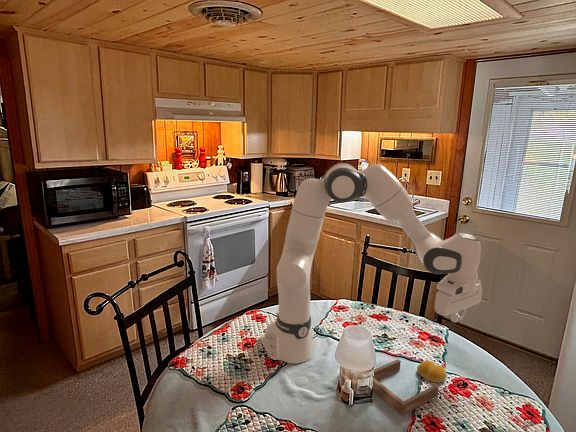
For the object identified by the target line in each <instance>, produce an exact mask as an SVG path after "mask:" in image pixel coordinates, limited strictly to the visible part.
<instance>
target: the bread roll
mask: <svg viewBox="0 0 576 432" xmlns="http://www.w3.org/2000/svg"><path fill="white" fill-rule="evenodd" d="M416 370H417V372H418V374H419V376H421V377H422V378H424V379H426V380H427V381H429V382H431V383H435V382H436V383H443V382H444V381H446V379H447V371H446V369H445V368H444V367H443V366H442V365H439V364H436V363H435V362H434V361H432V360H430V359H429V360H424V361H422V362H420V363H419V364H418V365H417V367H416Z"/></svg>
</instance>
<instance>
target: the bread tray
mask: <svg viewBox="0 0 576 432" xmlns="http://www.w3.org/2000/svg"><path fill="white" fill-rule="evenodd" d="M373 370H374V376H373V393H375V394H376V395H377V396H378V397H380V398H381V399H382V400H383V401H384V402H385V403H387V404H388V405H389V406H390V407H392V409H393V410H395V411H396V412H397V413H398V414H400V415H401V416H405V415H406V414H408V413H410V412H412V411H414V410H416V409H418V408H419V407H421V406H423V405H425V404H427V403H429V402H431V401H432V399H433V398H435V397H436V398H438V397H437V396H439V395H438V393H439V386H438V385H436V384H434V385H432V386H431V387H428V388H427V389H424V390H422V391H420V392H419V393H417V394H414V395H413V396H410V397H409V398H407V399H405V400H403V399H402V398H400V397H399V396H398V395H396V394H395V393H394V392H392V391H391V390H390V389H389V388H388V387H386V386H385V385H383V384H382V383H381V382H380V381H379V380H381V379H383V378H386V377H387V376H389V375H392V374H394V373H398V372H399V371H400V370H401V359H398V358H397V359H395V360H392V361H390V362H389V363H388V362H387V363H386V364H384V365H381V366H379V367H377V368H374V369H373ZM436 398H435V399H436ZM430 400H431V401H430ZM433 400H434V399H433ZM428 401H429V402H428ZM426 402H427V403H426ZM424 403H425V404H424Z"/></svg>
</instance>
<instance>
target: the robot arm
mask: <svg viewBox="0 0 576 432" xmlns="http://www.w3.org/2000/svg"><path fill="white" fill-rule="evenodd" d="M362 197H365V198H366V199H367V200H368V201H369V203H370V204H371V205H372V206H373V208H374V209H375V211H377V212H378V213H379V214H380V215H381V216H382V217H383V218H384V219H385V220H386V221H388V222H390V223H396V224H397V225H398V226H400V227H401V229H402V230H403V232H404V233H406V235H407V236H408V237H409V239H410V240H411V242H412V243H413V248H414V252H415V254H416V256H417V257H418V258H419V259H420V262H421V263H422V265H423V266H424V268H425V269H426V271H428V272H430V273H431V274H434V275H445V276H444V277H443V278H442V279H441V280H440V281H438V283H437V284H436V289H437V292H436V294H435V300H434V311H435V313H436V314H438V315H440V316H442V317H447V316H448V315H450V321H451V322H452V323H457V322H458V321H462V320H463V319H464V315H465V313H466V312H467V308H471V307H473V306H475V305H479V304H481V301H482V297H483V286H482V283H481V282H482V280H481V278H480V277H479V273H478V269H479V266H480V263H481V254H482V253H481V252H482V246H481V245H482V243H481V241H480V240H479V239H478V238H477V237H475V236H474V235H471V234H469V233H466V232H465V233H464V232H456V233H455V234H454V235H453V236H451V237H449V238H446V239H442V237H440V236H439V235H438V234H435V233H434V232H432V231H430V230H428V229H427V228H426V226H425V225H424V224H423V222H421V220H420V218H418V216H417V215H416V213H415V211H414V202H413V200H412V198H411V196H410V195H409V192H408V191H407V189H406V188H405V186H403V185H402V183H401V182H400V181H399V179H397V177H396V176H395V175H394V174H393V173H392V172H391V171H389V170H388V168H386V167H385V166H383V165H382V164H379V163H378V164H371V165H369V166H367V167H366V168H364V169H362V170H358V169H356V167H355V166H354V165H352V164H351V163H348V162H341V161H340V162H338V163H335V164H333V165H332V166H330V168H328V169H327V171H325V173H324V174H323V175H322V176H321V177H320V178H311V177H310V178H307V179H304V180H302V181H301V183H300V185H299V187H298V189H297V191H296V194H295V196H294V201H293V202H292V207H291V212H290V215H289V219H288V223H287V228H286V234H285V238H284V244H283V249H282V253H281V256H280V258H279V261H278V263H277V266H276V285H277V295H278V312H275V313H274V315H275V317H276V320H275V321H273V322H271V323H270V324H268V325H267V326H266V329H265V333H263V334H262V335H260V336H259V341H260V340H261V341H260V343H261V342H262V343H261V345H262V344H263V345H262V347H263V346H264V347H265V349H266V350H265V349H264V350H265V352H266V351H267V352H266V354H267V353H268V354H267V355H269V356H270V358H271V359H273V360H282V361H285V362H284V363H286V362H287V364H302V363H306V362H307V361H309V360H310V359H311V358H312V357H313V355H314V350H315V348H316V341H314V334H313V327H312V318H311V270H312V264H313V261H314V256H315V253H316V250H317V245H318V242H319V239H320V236H321V231H322V227H323V224H324V220H325V216H326V214H327V213H326V212H327V208H328V205H329V203H330V202H331V201H332V200H333V201H335V202H337V203H341V204H342V203H344V204H345V203H348V202H352V201H353V200H356V199H359V198H362ZM446 274H447V275H446ZM264 347H263V348H264ZM272 355H273V356H272ZM269 356H268V357H269ZM270 358H269V359H270ZM282 361H281V362H282Z"/></svg>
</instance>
